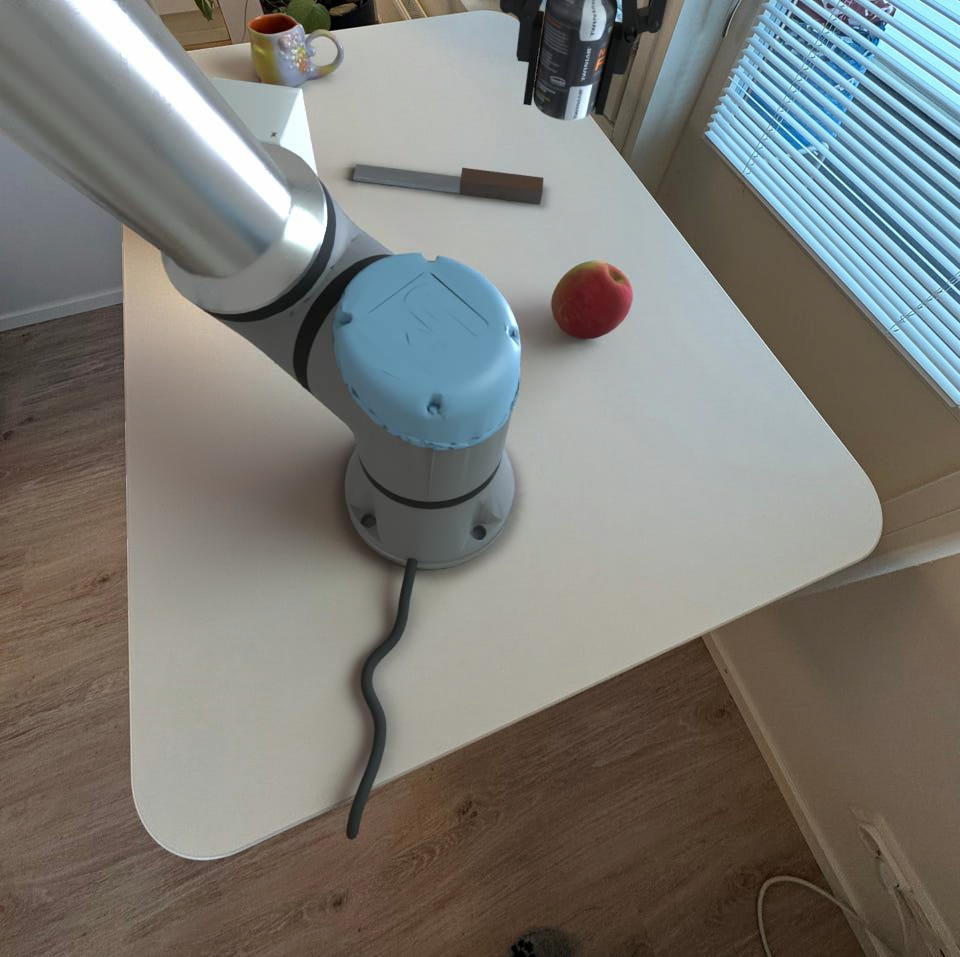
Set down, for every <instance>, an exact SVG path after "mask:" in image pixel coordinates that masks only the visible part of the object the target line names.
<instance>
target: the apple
mask: <svg viewBox="0 0 960 957" xmlns="http://www.w3.org/2000/svg"><path fill="white" fill-rule="evenodd" d="M633 292H634V290H633V287H632V284H631V282H630V280H629V278H628V277H627V276H626V275H625V274H624V272H622V271H621V270H620V269H618V268H617V267H616V266H614V265H612V264H610V263H608V262H604V261H600V260H589V261H585V262H582V263H579V264H577V265H575V266H574V267H572V268H571V269H569V270H568V271H567V272H566V273H565V274H564V275H563V276H562V277H561V278H560V279H559V281H558V283H557V284H556V286H555V288H554V290H553V293H552V295H551V300H550V308H551V312H552V316H553V319H554V321H555V323H556V325H557V326H558V328H559V329H560V330H561V331H562V332H563V333H565V334H566V335H568V336H570V337H572V338H575V339H578V340H592V339H598V338H600V337H603V336H605V335H608V334H610V333H611V332H612V331H613V330H615V329H616V328H618V327H619V326H620V325H621V324H622V323H623V322H624V320H625V319H626V318H627V316H628V314H629V312H630V310H631V307H632V303H633V300H634V298H633V297H634V293H633Z"/></svg>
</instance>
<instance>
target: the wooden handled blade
mask: <svg viewBox="0 0 960 957" xmlns="http://www.w3.org/2000/svg"><path fill="white" fill-rule="evenodd" d="M460 173H461V174H460V176H458V175H451V174H449V175H448V174H443V173H433V172H424V171H418V170H409V169H400V168H392V167H386V166H378V165H377V166H376V165H368V164H359V163H357V164H355V168H354V172H353V175H352V178H353V181H354V182H362V183H371V184H379V185H386V186H394V187H396V186H397V187H402V188H411V189H419V190H428V191H436V192H442V193H443V192H444V193H450V194H451V193H453V194H459V195H461V196H462V195H463V196H470V197H471V196H472V197H479V198H489V199H495V200H496V199H497V200H504V201H512V202H513V201H514V202H520V203H529V204H537V205H541V203H542V198H543V193H544V192H543V191H544V177H543V176H533V175H525V174H517V173H509V172H501V171H493V170H485V169H476V168H469V167H462V168H461V172H460Z"/></svg>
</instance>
